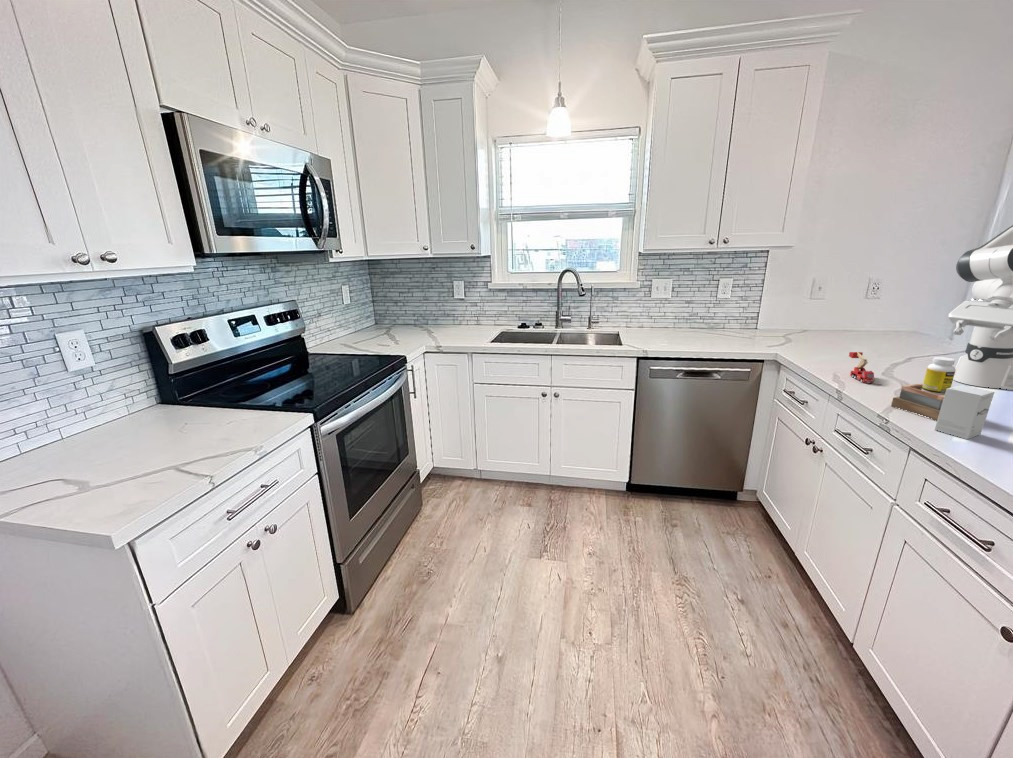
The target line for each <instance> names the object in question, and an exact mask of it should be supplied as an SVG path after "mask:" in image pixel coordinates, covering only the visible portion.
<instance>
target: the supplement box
mask: <svg viewBox="0 0 1013 758" xmlns="http://www.w3.org/2000/svg"><path fill="white" fill-rule="evenodd" d="M994 395H995V391H993V390H988V389H983V388H977V387H972V386H967V385H962V384H959V385H955V386H951V388H947V389H946V393H945V396H944V399H943V403H942V406H941V410H940V413H939V416H938V420H937V421H936V424H935V426H934V431H937V430H938V431H937V432H940V431H941V433H943V432H944V433H943V434H947V435H950V434H951V436H953V435H954V437H957V436H958V437H957V438H960V437H961V439H965V440H969V439H971V438H973V437H976V436H980V435H981V434H982V432H983V429H984V425H985V422H986V420H987V417H988V413H989V410H990V407H991V405H992V404H991V403H992V400H993V398H994Z"/></svg>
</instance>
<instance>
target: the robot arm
mask: <svg viewBox="0 0 1013 758" xmlns="http://www.w3.org/2000/svg"><path fill="white" fill-rule="evenodd" d="M955 266H956V267H955V269H956V273H957V275H958V276H959V277H960V278H961V279H962V280H963V281H965V282H968V283H973V282H974V283H973V285H972V287H971V294H972V295H973V298H971V299H968V300H964V301H962V302H961V303H960V304H959V305H958V306H957V307H955V308H953V309H952V311H950V312H949V313H948V315H947V316H948V320H949V321H950V322H951V323H952V324H954V325H956V326H955V327H954V329H953V331H952V333H953V335H956V336H961V335H962V334H963V333H964V329H963V328H965V327H966V326H969V327H973V330H972V333H971V335H970V339H969V342H968V343H967V345H966V347H965V350H964V353H965V354H963V355H961V356H960V357H959V359H958V360H957V361H958V362H957V363H956V365H955V367H954V368H955V369H956V371H955V374H954V378H953V381H955V382H958V383H962V384H965V385H970V386H975V387H980V388H988V387H989V388H990V389H999V388H1001V390H1006V389H1007V391H1013V224H1012V225H1010V226H1009V227H1008V228H1006V229H1005V230H1003V231H1001V232H1000V233H999V234H997V235H996V236H994V237H993V238H992V239H990V240H988V241H987V242H985V243H984V244H982V245H980V246H979V247H977V248H973V249H970V250H967V251H965V252H964V253H963V254H962V255H961V256H960V257H959V259H958V260H957V262H956V265H955ZM989 388H988V389H989Z"/></svg>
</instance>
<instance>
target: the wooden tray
mask: <svg viewBox="0 0 1013 758" xmlns="http://www.w3.org/2000/svg"><path fill="white" fill-rule="evenodd" d="M922 386H923V383H915V384H908V385H907V384H906V385H902V386H901V390H900V393H899V396H896V397H895V396H894V397H893V398H892V401H891V406H890V407H892V406H894V407H893V408H895V407H897V408H896V409H898V408H900V409H899V410H901V409H903V410H902V411H904V410H907V411H910V412H914V413H917V414H920V415H923V416H926V417H929V418H932V419H934V420H933V421H935V420H936V421H935V422H937V420H938V416H939V413H940V410H941V406H942V403H943V399H944V396H945V395H937V394H934V393H930V392H926V391H923V390H922ZM907 411H906V412H907ZM910 412H909V413H910Z"/></svg>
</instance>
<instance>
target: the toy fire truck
mask: <svg viewBox="0 0 1013 758" xmlns="http://www.w3.org/2000/svg"><path fill="white" fill-rule="evenodd" d="M848 353H849V354H848V357H849V358H852V359H860V361H859V363H858V365H857V366H854V368H853V370H850V374H849V376H851V378H852V377H853V379H854V378H855V379H854V380H858V381H860V383H862V382H863V383H864V384H872V383H874V377H875V373H874V372H873V371H872V370H866V369H865V368H866V365H867V364H868V363H869V362H868V358H865V357H864V356H863V353H864V352H863V351H859V352H858V351H849V352H848Z"/></svg>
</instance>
